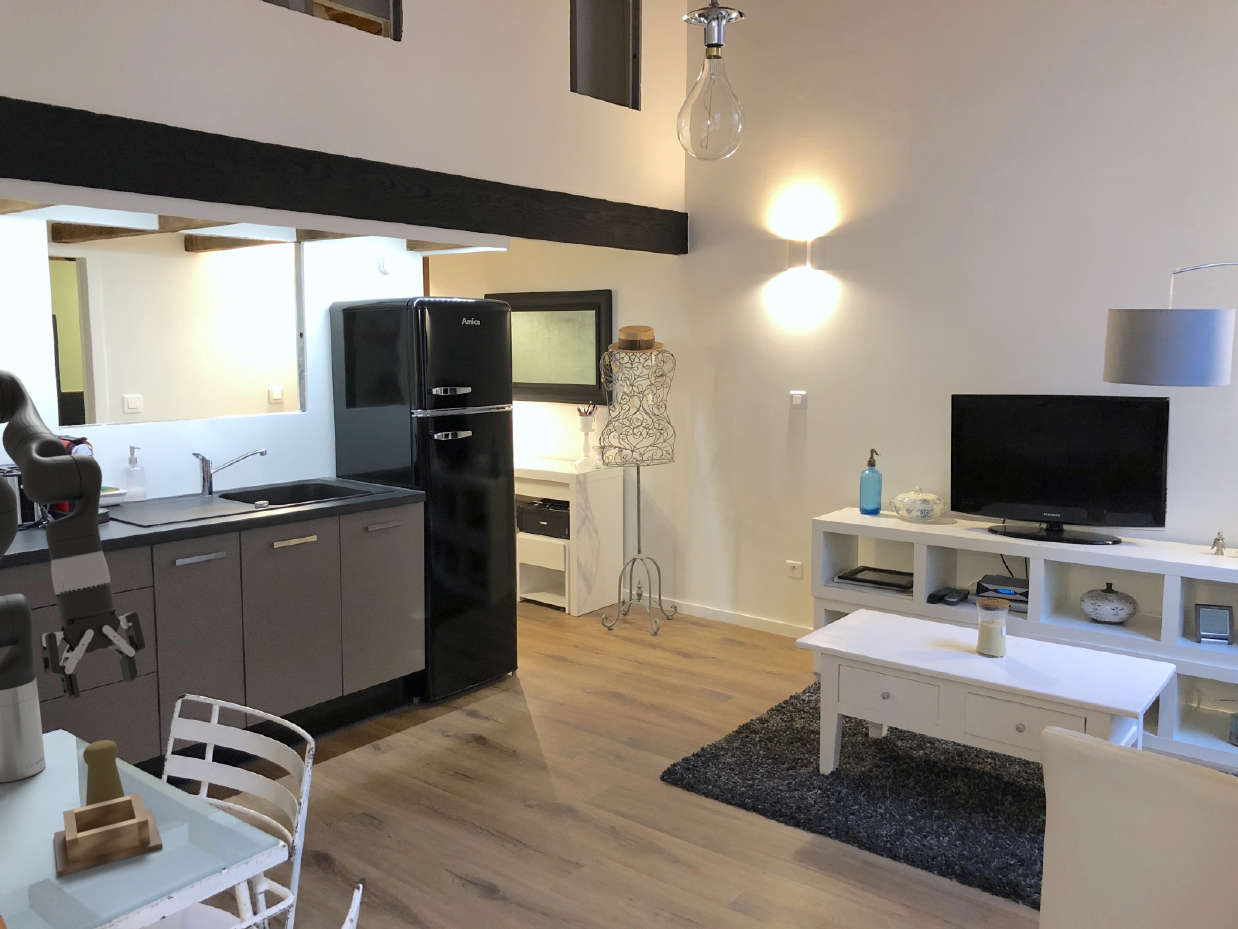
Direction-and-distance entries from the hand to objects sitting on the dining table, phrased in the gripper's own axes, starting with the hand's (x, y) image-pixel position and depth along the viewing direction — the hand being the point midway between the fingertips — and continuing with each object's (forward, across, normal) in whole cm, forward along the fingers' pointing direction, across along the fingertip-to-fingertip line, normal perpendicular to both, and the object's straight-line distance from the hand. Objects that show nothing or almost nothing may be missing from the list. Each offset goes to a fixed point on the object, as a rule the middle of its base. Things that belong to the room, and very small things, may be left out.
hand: (102, 689), depth 145 cm
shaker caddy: (+24, 0, -8) cm, 26 cm away
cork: (+22, -7, -21) cm, 31 cm away
